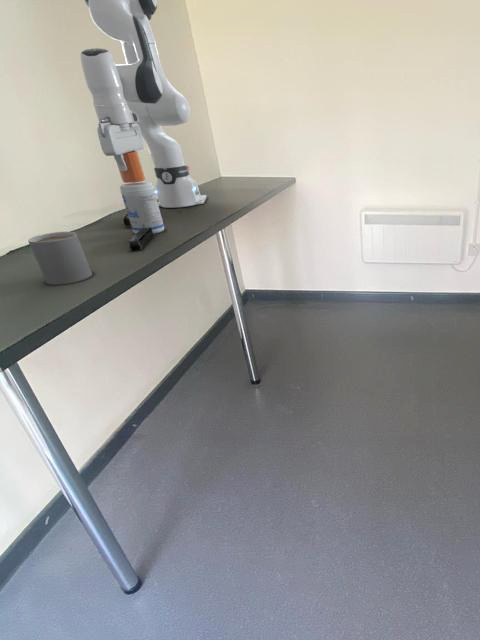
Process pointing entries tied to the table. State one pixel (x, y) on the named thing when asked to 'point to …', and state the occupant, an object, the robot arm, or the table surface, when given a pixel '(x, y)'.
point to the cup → (132, 168)
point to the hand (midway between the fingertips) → (130, 169)
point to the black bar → (141, 239)
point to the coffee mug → (60, 257)
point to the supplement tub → (142, 206)
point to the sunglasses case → (127, 221)
